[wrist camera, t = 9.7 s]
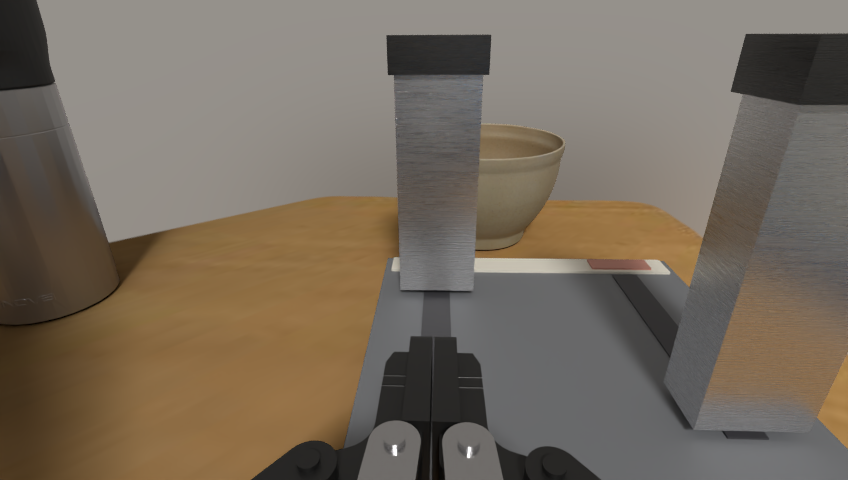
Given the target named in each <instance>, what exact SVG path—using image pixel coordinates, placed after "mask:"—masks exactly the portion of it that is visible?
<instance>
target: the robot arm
mask: <svg viewBox="0 0 848 480" xmlns="http://www.w3.org/2000/svg"><path fill="white" fill-rule="evenodd" d="M54 82H55V80H54V76H53V73H52V70H51V67H50V63H49V55H48V46H47V38H46V32H45V28H44V25H43V21H42V18H41V15H40V11H39V8H38V4H37V1H36V0H0V324H9V325H19V324H30V323H37V322H43V321H47V320H51V319H55V318H59V317H62V316H65V315H69V314H72V313H74V312H77V311H79V310H82V309H84V308H87V307H89V306H91V305H93V304H95V303H97V302H99V301H100V300H102V299H103V298H105V297H106V296H108V295H109V294H110V293H111V292H112V291H114V290H115V288H116V287H117V286H118V284H119V280H120V279H119V276H118V273H117V270H116V264H115V261H114V258H113V255H112V252H111V249H110V246H109V243H108V240H107V237H106V234H105V231H104V228H103V225H102V222H101V218H100V215H99V212H98V209H97V206H96V203H95V200H94V197H93V194H92V191H91V188H90V185H89V182H88V179H87V176H86V174H85V171H84V168H83V164H82V162H81V159H80V155H79V152H78V149H77V146H76V143H75V140H74V137H73V134H72V131H71V128H70V125H69V123H68V119H67V116H66V113H65V110H64V107H63V104H62V101H61V98H60V95H59V92H58V89H57V86H56V84H55V83H54ZM432 372H433V336H411V337H410V346H409V352H393V353H392V355H391V356H390V357H389V359H388V360H387V361H386V363H385V369H384V377H383V381H382V387H381V392H380V398H379V404H378V409H377V415H376V421H375V425H374V428H373V430H372V432H371V433H370V434H369V436H368V437H367V438H365V439H364V440H363V441H361V442H360V443H358V444H356V445H354V446H351V447H347V448H343V449H339V450H336V451H335V450H334V449H333V448H332V447H331V446H330V445H329V444H327V443H325V442H322V441H308V442H304V443H301V444H299V445H297V446H295V447H294V448H292V449H291V450H290V451H288V452H287V453H286V454H284V455H283V456H282V457H280V458H279V459H278V460H276V461H275V462H274V463H273V464H271V465H270V466H269V467H267V468H266V469H265V470H263V471H262V472H261V473H259V474H258V475H257V476H255V477H254V478H253V479H251V480H430V451H431V417H432V480H601V479H600V478H599V477H597V476H596V475H595V474H594V473H593V472H591V471H590V470H589V469H588V468H586V467H585V466H584V465H583V464H582V463H580V462H579V461H578V460H577V459H576V458H574V457H573V456H572V455H571V454H569V453H568V452H566V451H564V450H562V449H560V448H556V447H551V446H543V447H539V448H536V449H534V450H532V451H531V452H530V453H529V454H528V456H525V455H521V454H518V453H515V452H512V451H509V450H507V449H505V448H503V447H502V446H500V445H499V444H498V443H497V442H496V441H495V440H494V438H493V436H492V434H491V433H490V432H489V430H488V425H487V416H486V407H485V399H484V390H483V381H482V373H481V364H480V363H479V361H478V360H477V359H476V357H475V356H474V354H473V353H457V338H456V337H434V373H433V410H432Z"/></svg>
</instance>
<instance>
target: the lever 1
mask: <svg viewBox="0 0 848 480" xmlns="http://www.w3.org/2000/svg"><path fill="white" fill-rule="evenodd" d="M490 48H491V35H387V61H388V75H394V94H395V123H396V124H395V126H396V159H397V190H398V223H399V256H400V288H401V290H452V291H473V284H474V263H475V241H476V220H477V198H478V177H479V155H480V133H481V111H482V90H483V75H489V68H490Z"/></svg>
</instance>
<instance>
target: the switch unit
mask: <svg viewBox="0 0 848 480" xmlns="http://www.w3.org/2000/svg"><path fill="white" fill-rule="evenodd" d="M688 292H689V287H688V286H687V285H686V284H685V283H684V282H683V281H682V280H681V279H680V278H679V277H678V276H677V275H676V273H675V272H674V271H673V270H672V269H671V268H670V267H669V266H668V265H667V264H666V263H665V262H664V261H659V260H612V259H518V258H475V263H474V284H473V291H452V290H401V288H400V257H394V258H388V261H387V265H386V269H385V273H384V278H383V282H382V286H381V290H380V295H379V299H378V303H377V308H376V312H375V316H374V320H373V325H372V329H371V333H370V337H369V342H368V346H367V350H366V354H365V359H364V363H363V367H362V371H361V376H360V380H359V384H358V388H357V393H356V397H355V401H354V405H353V410H352V414H351V418H350V422H349V427H348V431H347V435H346V439H345V444H344V448H347V447H351V446H354V445H356V444H358V443H360V442H361V441H363V440H364V439H365V438H367V437H368V436H369V434H370V433H371V432H372V430H373V428H374V425H375V421H376V415H377V409H378V404H379V398H380V392H381V387H382V381H383V377H384V369H385V363H386V361H387V360H388V359H389V357H390V356H391V355H392V353H393V352H409V346H410V337H411V336H433V372H432V410H433V373H434V337H456V338H457V353H473V354H474V356H475V357H476V359H477V360H478V361H479V363H480V364H481V373H482V381H483V390H484V399H485V407H486V416H487V425H488V430H489V432H490V433H491V434H492V436H493V438H494V440H495V441H496V442H497V443H498V444H499V445H500V446H502V447H503V448H505V449H507V450H509V451H512V452H515V453H518V454H521V455H525V456H528V454H529V453H530V452H531V451H532V450H534V449H536V448H539V447H543V446H551V447H556V448H560V449H562V450H564V451H566V452H568V453H569V454H571V455H572V456H573V457H574V458H576V459H577V460H578V461H579V462H580V463H582V464H583V465H584V466H585V467H586V468H588V469H589V470H590V471H591V472H593V473H594V474H595V475H596V476H597V477H599V478H600V479H601V480H848V449H847V448H846V447H845V446H844V445H843V444H842V443H841V442H840V441H839V440H838V439H837V438H836V437H835V436H834V435H833V434H832V433H831V432H830V431H829V430H828V429H827V428H826V427H825V426H824V425H823V424H822V423H821V422H820V421H819V420H818V419H817V418H816V420H815V422H814V424H813V426H812V428H811V430H810V432H809V433H804V432H760V431H716V430H693V428H692V427H691V425H690V423H689V422H688V420H687V419H686V417H685V416H684V414H683V412H682V411H681V409H680V408H679V406H678V405H677V403H676V402H675V400H674V398H673V397H672V395H671V394H670V392H669V391H668V389H667V387H666V386H665V384H664V383H663V382H664V379H665V375H666V371H667V368H668V364H669V360H670V357H671V353H672V350H673V346H674V342H675V339H676V335H677V331H678V328H679V324H680V321H681V317H682V313H683V310H684V306H685V303H686V299H687V295H688ZM430 480H432V417H431V451H430Z"/></svg>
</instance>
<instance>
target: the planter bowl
mask: <svg viewBox="0 0 848 480" xmlns="http://www.w3.org/2000/svg"><path fill="white" fill-rule="evenodd" d="M564 149H565V140H564V139H563V138H562V137H560V136H558V135H556V134H554V133H551V132H549V131H544V130H541V129H535V128H529V127H524V126H517V125H507V124H506V125H505V124H488V123H481V133H480V155H479V177H478V198H477V220H476V241H475V250H495V249H501V248H505V247H508V246H511V245H513V244H515V243H517V242H518V241H519V240H520V239H521V238H522V236H523V233H524V229H525V228H526V227H527V226H528V225H529V224H530V223H531V222H532V221H533V220H534V218H535V217H536V216H537V215H538V214H539V212H540V211H541V209H542V208H543V206H544V205H545V203H546V201H547V200H548V198H549V196H550V194H551V192H552V190H553V187H554V184H555V182H556V178H557V175H558V171H559V166H560V160H561V157H562V155H563V153H564Z"/></svg>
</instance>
